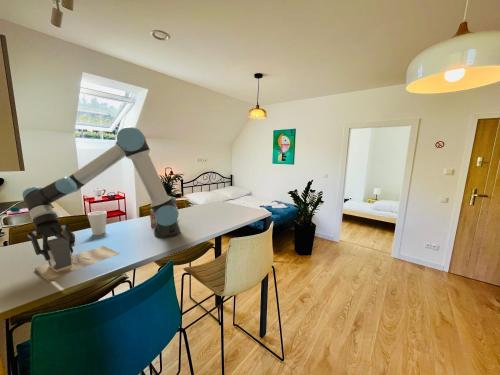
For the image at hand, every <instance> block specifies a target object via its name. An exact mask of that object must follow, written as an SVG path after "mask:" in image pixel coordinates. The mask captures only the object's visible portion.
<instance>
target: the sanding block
mask: <svg viewBox="0 0 500 375" xmlns="http://www.w3.org/2000/svg"><path fill="white" fill-rule="evenodd" d="M47 244H48V251H51V253H52V255H53V258H54V260H55V262H56V265H55V267H54V268H52V266H51V263H50V261H49V260H48V261H47V262H48V263H49V267H51V268H52V269H53V270H54V271H56V272H58V271H61V270H64V269H67V268H69V267H72V264H71V256H70V247H69V241H68V240H66V239H64V238H57V237H55V238H52V239H49V240H48V241H47Z"/></svg>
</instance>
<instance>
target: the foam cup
mask: <svg viewBox="0 0 500 375" xmlns="http://www.w3.org/2000/svg"><path fill="white" fill-rule="evenodd" d="M107 215H108V214H107V211H105V210H97V211H91V212H89V213H87V219H88V222H89V225H90V229H91V232H92V235H94V236H99V235H104V234H105V233H106V231H107V230H106V228H107ZM103 233H104V234H103Z"/></svg>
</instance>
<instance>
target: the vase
mask: <svg viewBox="0 0 500 375" xmlns="http://www.w3.org/2000/svg"><path fill="white" fill-rule="evenodd" d="M60 232H61V234H62V235H63V236H64V237H65V238H66V239H67V240H68V238H67V236H66V234H65V230H63V229H62V231H60ZM71 233H72V235H73V238H74V240H75V241H76V235H75V233H74V232H72V231H71ZM68 241H69V240H68Z"/></svg>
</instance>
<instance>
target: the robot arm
mask: <svg viewBox="0 0 500 375" xmlns="http://www.w3.org/2000/svg"><path fill="white" fill-rule="evenodd" d="M150 151H151V149H150V146H149V145H148V142H147V139H146V136H145V135H144V133H143V132H142V131H141V130H140V128H139V129H138V128H137V127H134V126H124V127H122V128H121V129H120V130H118V132H117V135H116V142H115V145H113V146H111V147H110V148H109V149H107V150H106V151H104V152H102V154H100V155H99V156H97V157H96V158H94V159H92V160H91V161H90V162H88V163H87V164H85V165H84V166H81V168H79V169H77V171H75V172H74V173H72V174H71V175H69V176H64V177H62V178H59V179H57V180H55V181H54V182H51V183H49V184H47V185H46V186H44V187H40V186H32V187H28V188H26V189H24V191H23V192H22V194H21V195H22V199H23V203H24V204H25V206H26V208H27V210H28V214H29V215H30V219H31V221H32V224H33V226H34V229H35V230H34V231H33V230H32V231H28V232H27V233H28V234H27V236H26V237H27V238H28V239H29V240H30V241H31V245H32V247H33V249H34V252H35V255H38V256H39V255H42V256H43V257H44V260H45V261H47V262H49V261H50V263H51V266H52V268H54V267H55V265H56V262H55V260H54V258H53V255H52V253H51V251H48V244H47V241H48V238H49V237H55V238H64V239H66V238H65V237H64V236H63V235H62V234H61V232H62V231H63V230H65V234H66V236H67V238H68V240H69V247H70V256H71V262H72V261H73V259H74V258H73V253H74V249H73V247H72V246H73V245H75V243H76V239H75V240H74V238H73V235H72V233H71V232H72V231H71V229H70V224H69V223H67V224H62V223H60V222H59V220H58V218H57V216H56V213H55V211H54V209H53V207H52V205H51V204H52V203H54V202H56V201H58V200H60V199H63V197H66V196H68V195H70V194H73V193H77V192H78V191H80V190H81V188H82V187H84V186H86V185H87V184H88V183H90V182H91V181H93V180H94V179H95V178H97V177H98V176H100V175H101V174H103V173H104V172H105V171H107V170H108V169H110V168H111V167H113V166H114V165H115V164H118V162H120V161H121V160H122V159H125V157H126V158H127V159H128V160H131V161H132V163H133V166H134V168H135V170H136V172H137V174H138V176H139V178H140V180H141V183H142V184H143V187H144V189H145V191H146V193H147V194H148V197H149V199H150V201H151V203H150V209H152V210H153V212H154V214H155V219H156V221H157V223H156V227H154V232H153V234H154V237H156V238H159V239H160V238H162V239H163V238H171V237H175V236H177V235H179V234H180V233H181V228H180V225H179V223H178V219H179V214H180V213H179V210H178V207H177V198H176V197H174V196H170V195H168V193H167V191H166V188H165V187H164V184H163V183H162V180H161V179H160V176H159V174H158V172H157V169H156V167H155V165H154V163H153V160H152V159H151V157H150V155H149V154H150ZM61 229H62V231H60V230H61ZM37 235H39V236H41V237H42V249H41V247H40V246H41V245H40V244H39V241H38V239H37ZM66 240H67V239H66ZM48 260H49V261H48Z"/></svg>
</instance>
